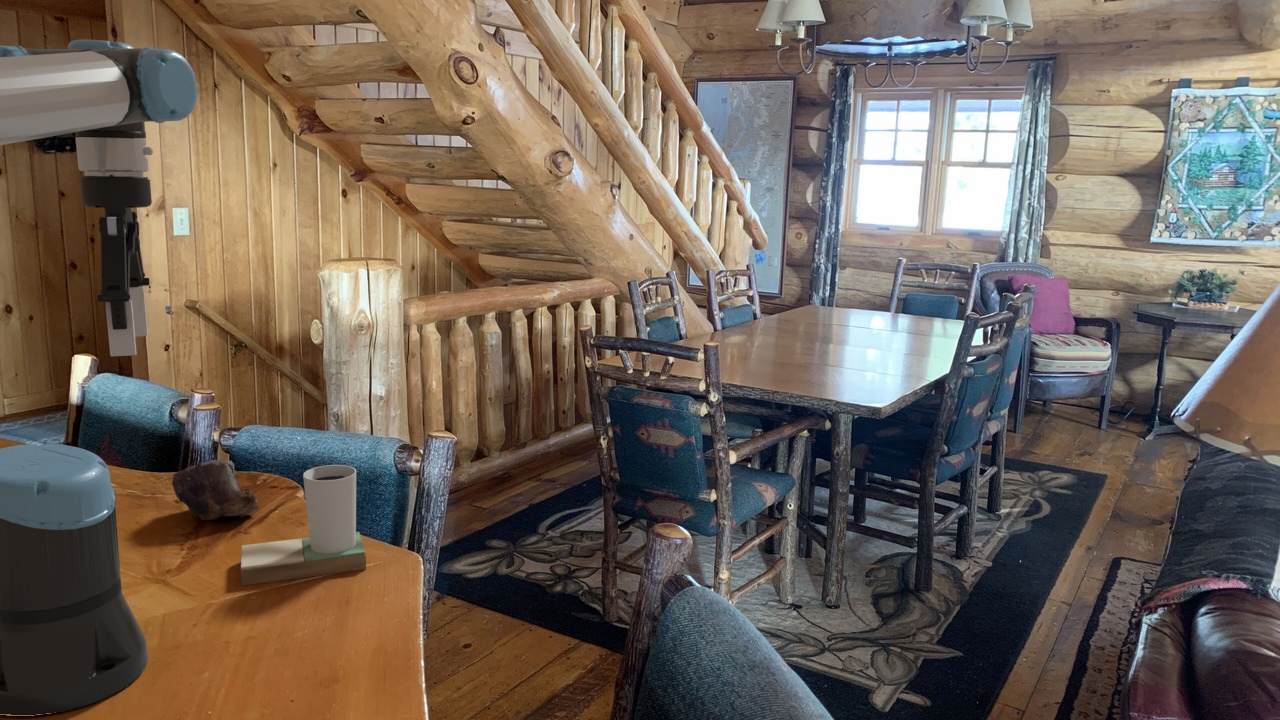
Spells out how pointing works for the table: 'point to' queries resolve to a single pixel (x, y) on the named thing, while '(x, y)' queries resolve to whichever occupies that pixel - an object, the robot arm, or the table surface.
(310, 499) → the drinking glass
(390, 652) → the table surface
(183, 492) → the rock
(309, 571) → the cream and green board
